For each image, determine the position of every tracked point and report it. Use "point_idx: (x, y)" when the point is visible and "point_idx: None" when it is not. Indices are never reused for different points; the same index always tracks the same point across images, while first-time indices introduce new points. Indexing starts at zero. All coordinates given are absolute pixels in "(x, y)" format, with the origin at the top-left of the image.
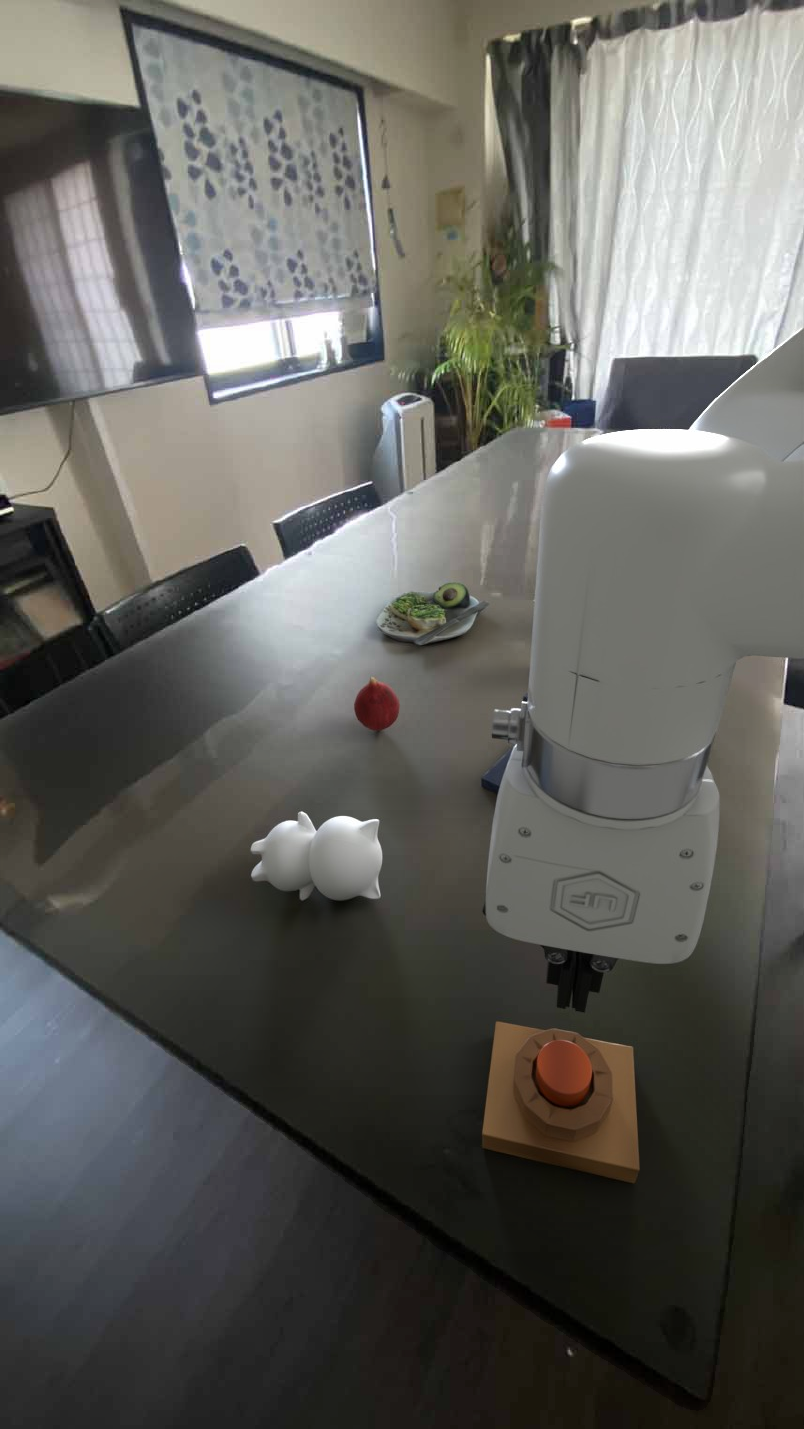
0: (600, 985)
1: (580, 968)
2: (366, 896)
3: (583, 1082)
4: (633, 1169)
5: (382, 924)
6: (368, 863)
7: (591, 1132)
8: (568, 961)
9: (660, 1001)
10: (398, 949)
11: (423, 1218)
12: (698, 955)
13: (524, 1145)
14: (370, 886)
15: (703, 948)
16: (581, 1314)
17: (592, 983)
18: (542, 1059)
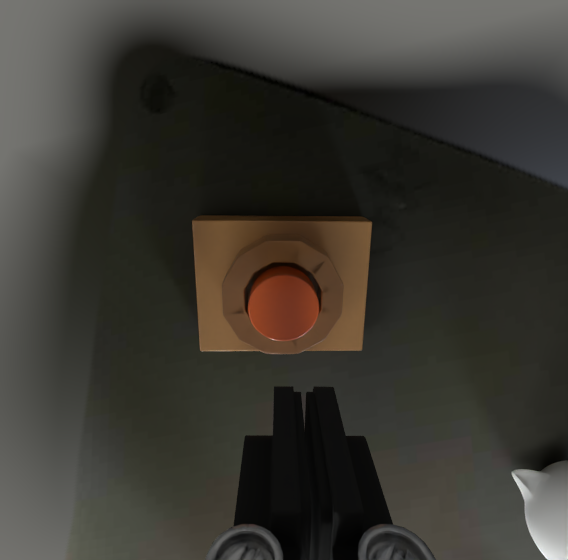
0: (243, 460)
1: (306, 521)
2: (534, 471)
3: (258, 293)
4: (198, 220)
5: (499, 437)
6: (565, 528)
7: (246, 247)
8: (344, 538)
9: (172, 405)
10: (476, 411)
11: (422, 134)
12: (130, 463)
13: (321, 220)
14: (536, 487)
15: (124, 471)
16: (252, 84)
17: (262, 461)
18: (312, 311)
